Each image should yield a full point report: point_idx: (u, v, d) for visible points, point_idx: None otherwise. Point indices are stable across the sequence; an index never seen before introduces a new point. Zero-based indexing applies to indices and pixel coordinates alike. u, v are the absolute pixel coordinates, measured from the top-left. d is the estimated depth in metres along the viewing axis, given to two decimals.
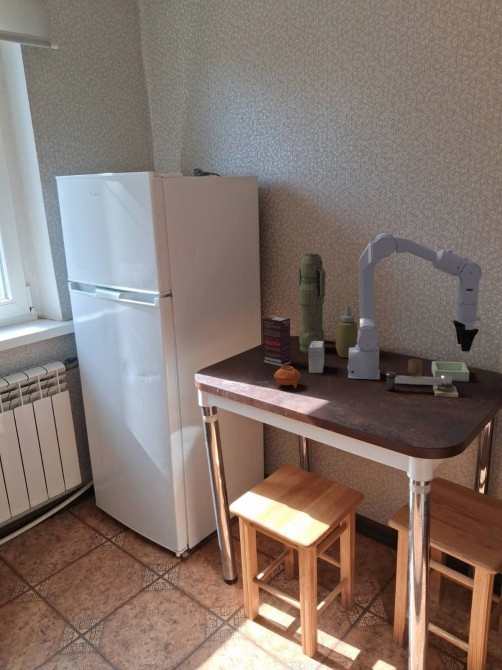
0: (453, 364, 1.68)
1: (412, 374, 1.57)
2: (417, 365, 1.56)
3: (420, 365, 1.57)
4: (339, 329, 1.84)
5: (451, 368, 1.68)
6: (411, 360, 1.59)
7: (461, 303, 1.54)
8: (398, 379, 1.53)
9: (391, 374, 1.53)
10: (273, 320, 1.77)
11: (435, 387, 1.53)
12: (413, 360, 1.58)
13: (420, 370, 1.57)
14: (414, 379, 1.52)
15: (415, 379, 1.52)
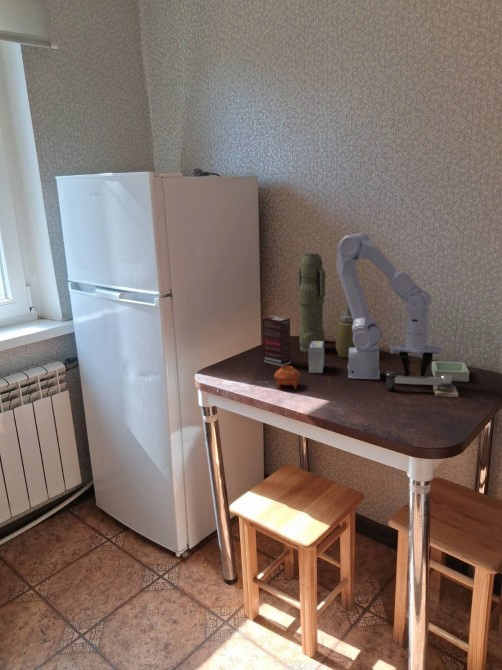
0: (453, 364, 1.68)
1: (412, 374, 1.57)
2: (417, 365, 1.56)
3: (420, 365, 1.57)
4: (339, 329, 1.84)
5: (451, 368, 1.68)
6: (412, 360, 1.59)
7: None
8: (398, 379, 1.53)
9: (391, 374, 1.53)
10: (273, 320, 1.77)
11: (435, 387, 1.53)
12: (413, 360, 1.58)
13: (420, 370, 1.57)
14: (414, 379, 1.52)
15: (415, 379, 1.52)
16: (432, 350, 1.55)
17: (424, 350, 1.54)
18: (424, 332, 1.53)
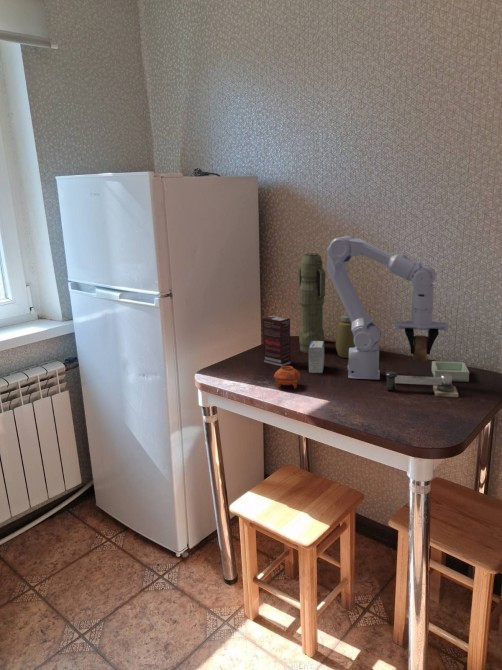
0: (453, 364, 1.68)
1: (418, 350, 1.56)
2: (422, 341, 1.55)
3: (426, 341, 1.55)
4: (339, 329, 1.84)
5: (451, 368, 1.68)
6: (417, 336, 1.57)
7: None
8: (398, 379, 1.53)
9: (391, 374, 1.53)
10: (273, 320, 1.77)
11: (435, 387, 1.53)
12: (419, 336, 1.57)
13: (426, 346, 1.56)
14: (414, 379, 1.52)
15: (415, 379, 1.52)
16: (438, 326, 1.53)
17: (430, 326, 1.53)
18: (430, 307, 1.52)
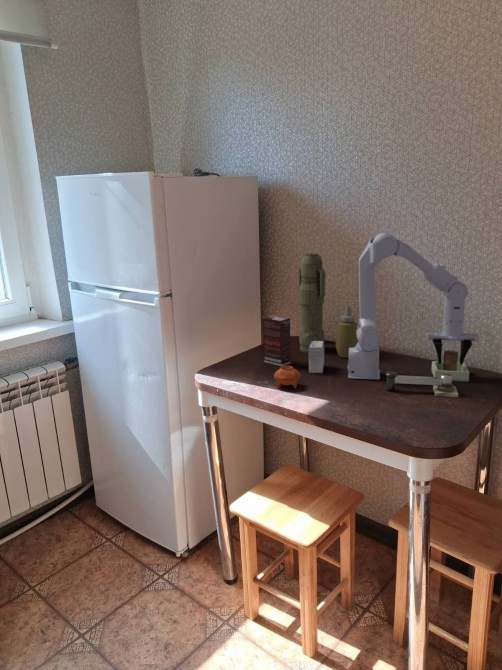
0: None
1: (448, 365, 1.62)
2: (453, 356, 1.61)
3: (456, 356, 1.62)
4: (339, 329, 1.84)
5: None
6: (447, 351, 1.63)
7: None
8: (398, 379, 1.53)
9: (391, 374, 1.53)
10: (273, 320, 1.77)
11: (435, 387, 1.53)
12: (449, 351, 1.63)
13: (456, 361, 1.62)
14: (414, 379, 1.52)
15: (415, 379, 1.52)
16: (468, 337, 1.59)
17: (461, 337, 1.59)
18: (463, 319, 1.59)
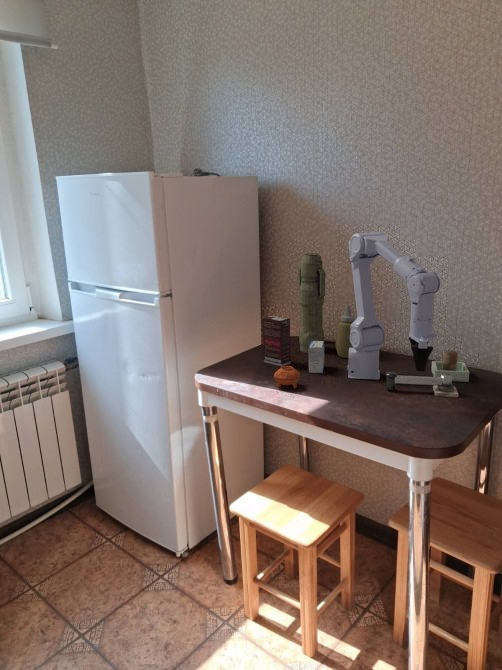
0: None
1: (448, 365, 1.62)
2: (453, 356, 1.61)
3: (456, 356, 1.62)
4: (339, 329, 1.84)
5: None
6: (447, 351, 1.64)
7: (415, 319, 1.40)
8: (398, 379, 1.53)
9: (391, 374, 1.53)
10: (273, 320, 1.77)
11: (435, 387, 1.53)
12: (449, 352, 1.63)
13: (455, 361, 1.62)
14: (414, 379, 1.52)
15: (415, 379, 1.52)
16: None
17: None
18: (425, 318, 1.39)
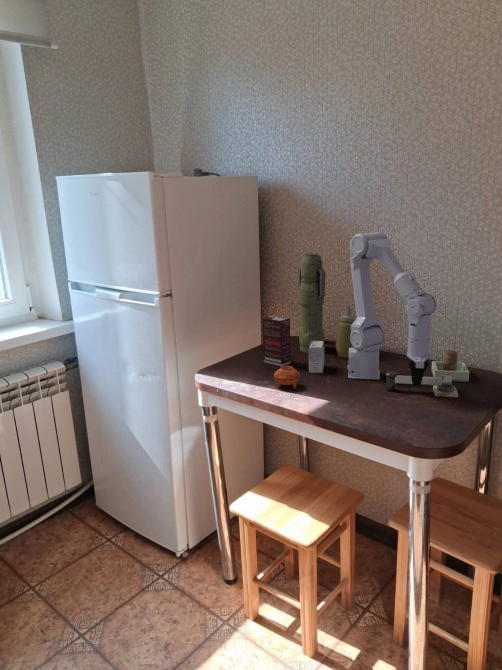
0: None
1: (448, 365, 1.62)
2: (452, 356, 1.61)
3: (456, 356, 1.62)
4: (339, 329, 1.84)
5: None
6: (447, 351, 1.63)
7: (412, 339, 1.46)
8: (398, 378, 1.53)
9: (391, 374, 1.53)
10: (273, 320, 1.77)
11: (435, 387, 1.53)
12: (448, 352, 1.63)
13: (455, 361, 1.62)
14: None
15: None
16: None
17: None
18: (423, 338, 1.45)
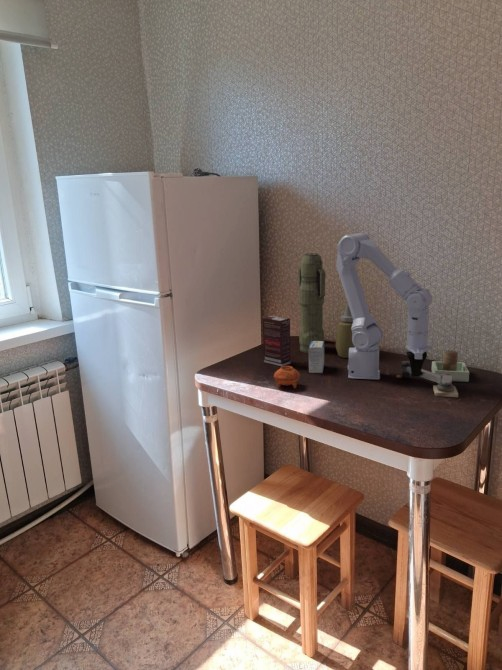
0: None
1: (448, 365, 1.62)
2: (453, 356, 1.61)
3: (456, 356, 1.62)
4: (339, 329, 1.84)
5: None
6: (447, 351, 1.63)
7: (411, 332, 1.53)
8: (409, 368, 1.61)
9: (404, 363, 1.62)
10: (273, 320, 1.77)
11: (435, 387, 1.53)
12: (449, 352, 1.63)
13: (455, 361, 1.62)
14: None
15: (421, 372, 1.57)
16: None
17: None
18: (424, 331, 1.52)
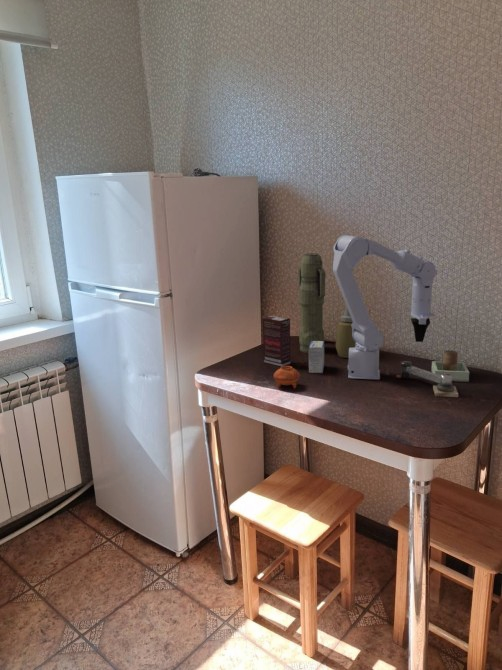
0: None
1: (448, 365, 1.62)
2: (453, 356, 1.61)
3: (456, 356, 1.62)
4: (339, 329, 1.84)
5: None
6: (447, 351, 1.64)
7: (415, 299, 1.64)
8: (409, 368, 1.61)
9: (404, 363, 1.62)
10: (273, 320, 1.77)
11: (435, 387, 1.53)
12: (449, 352, 1.63)
13: (455, 361, 1.62)
14: (420, 372, 1.57)
15: (421, 372, 1.57)
16: None
17: None
18: None
